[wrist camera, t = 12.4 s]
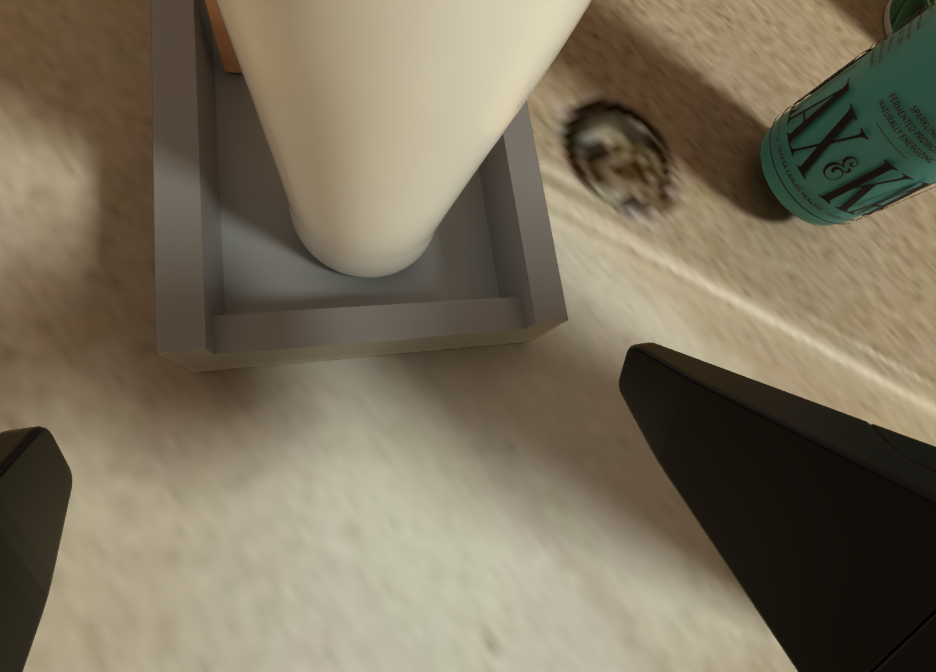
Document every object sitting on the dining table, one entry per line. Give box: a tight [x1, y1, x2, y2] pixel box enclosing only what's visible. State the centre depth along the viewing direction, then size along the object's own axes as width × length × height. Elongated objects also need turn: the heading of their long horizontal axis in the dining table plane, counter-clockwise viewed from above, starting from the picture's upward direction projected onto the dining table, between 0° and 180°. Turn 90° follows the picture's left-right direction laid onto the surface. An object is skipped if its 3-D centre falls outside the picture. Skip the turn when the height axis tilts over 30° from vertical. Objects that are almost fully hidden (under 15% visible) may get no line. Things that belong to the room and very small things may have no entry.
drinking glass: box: [216, 0, 592, 278], centre depth 11 cm, size 7×7×15 cm
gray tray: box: [151, 0, 568, 373], centre depth 17 cm, size 18×12×6 cm
